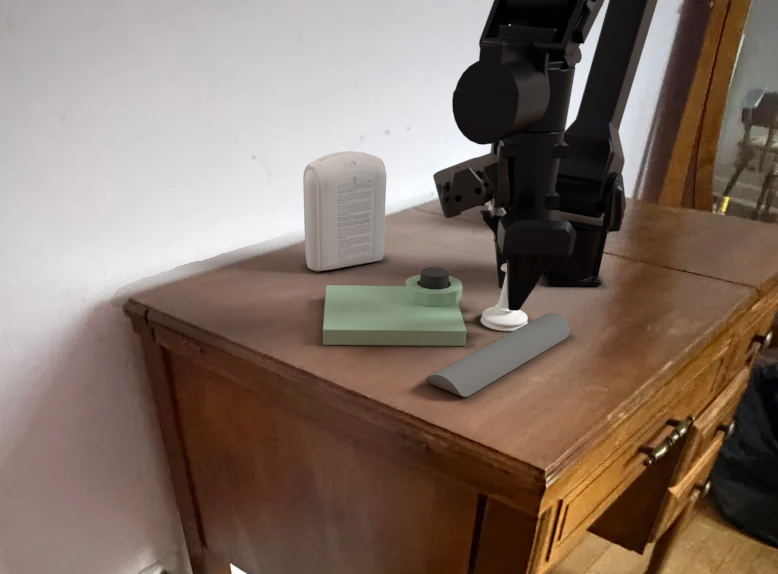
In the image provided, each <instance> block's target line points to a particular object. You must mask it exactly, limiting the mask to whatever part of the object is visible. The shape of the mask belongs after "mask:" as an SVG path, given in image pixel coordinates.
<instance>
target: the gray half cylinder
mask: <svg viewBox="0 0 778 574" xmlns="http://www.w3.org/2000/svg"><path fill="white" fill-rule="evenodd" d="M570 333H571V327H570V323H569V322H568V320H567V319H566V318H565V317H564V316H563V315H562V314H560V313H557V312H546V313H544V314H542V315H540V316H539V317H536V318H535V319H533V320H531V321H530V322H528V323H527V324H525V325H523V326H522V327H520V328H518V329H516V330H514V331H509V333H507V334H505V335H502V336H501V337H499V338H497V339H496V340H494V341H491V342H490V343H488V344H486V345H484V346H482V347H480V348H479V349H477V350H474V351H473V352H471V353H469V354H467V355H466V356H463V357H462V358H460V359H458V360H457V361H455V362H453V363H451V364H449V365H447V366H445V367H443V368H442V369H439V370H437V371H436V372H434V373H431V374H430V375H428V376H427V377H426V378H425V379H424V380H425V382H426V383H428V384H430V385H432V386H435V387H437V388H440V389H442V390H445V391H448V392H450V393H452V394H455V395H457V396H460V397H462V398H463V397H464V398H466V397H469V396H471V395H473V394H475V393H476V392H478V391H480V390H482V389H483V388H485V387H486V386H489V384H492V383H493V382H494V381H497V380H498V379H500V378H501V377H503V376H505V375H506V374H508V373H510V372H512V371H513V370H515V369H517V368H518V367H520V366H522V365H523V364H525V363H526V362H528V361H531V359H533V358H535V357H537V356H538V355H540V354H542V353H543V352H545V351H547V350H549V349H550V348H552V347H554V346H555V345H557V344H559V343H561V342H562V341H564V340H566V339H568V337H569V336H570Z"/></svg>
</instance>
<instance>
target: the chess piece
mask: <svg viewBox="0 0 778 574" xmlns="http://www.w3.org/2000/svg"><path fill="white" fill-rule="evenodd" d="M501 270H502V271H504V272H506V276H505V280H504V284H503V288H502V289H501V293H500V296H499V300H498V303H496V304H495V305H494V306H492V307H489V308H488V307H487V308H486V309H485V310H483V312H481V317H480V323H481V324H482V325H483V326H485V327H486V328H488V329H491V330H494V331H499V332H512V331H514V330H516V329H518V328H520V327H522V326H523V325H525V324H527V323H529V322H528V320H529V317H528V314H527V313H525V312H524V311H523V310H521V309H520V310H518V311H511V310H509V309H508V294H507V263H505V264H503V265H502V267H501Z"/></svg>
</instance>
